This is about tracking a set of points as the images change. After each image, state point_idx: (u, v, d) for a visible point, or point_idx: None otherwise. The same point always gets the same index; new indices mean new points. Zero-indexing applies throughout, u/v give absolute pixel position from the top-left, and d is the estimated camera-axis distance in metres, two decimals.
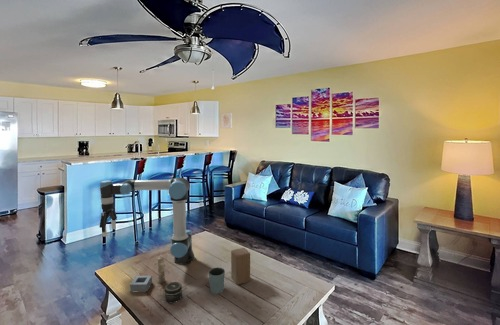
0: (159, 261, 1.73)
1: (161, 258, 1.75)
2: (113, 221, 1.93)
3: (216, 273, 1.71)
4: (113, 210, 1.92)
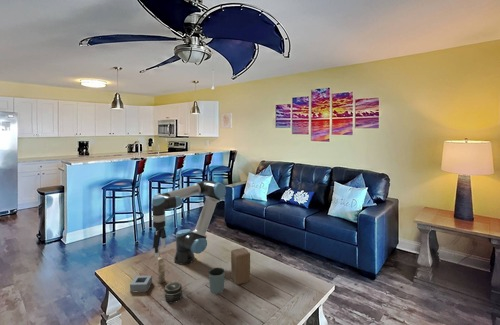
0: (159, 261, 1.73)
1: (161, 258, 1.75)
2: (163, 239, 1.80)
3: (216, 273, 1.71)
4: (163, 228, 1.78)
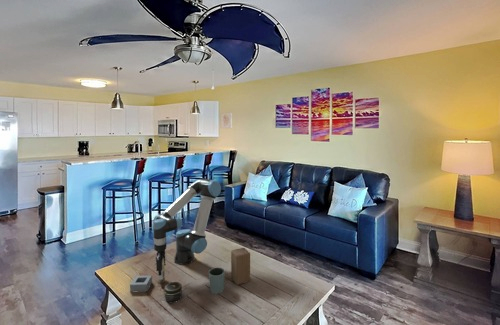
0: None
1: None
2: None
3: (216, 273, 1.71)
4: (164, 252, 1.79)
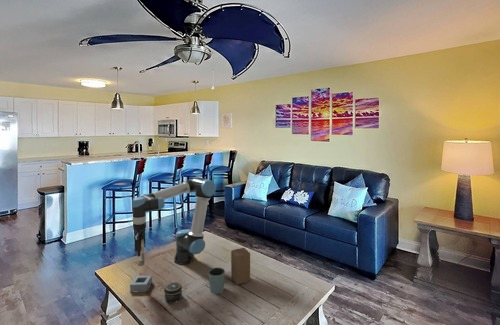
0: None
1: None
2: None
3: (216, 273, 1.71)
4: (144, 232, 1.71)
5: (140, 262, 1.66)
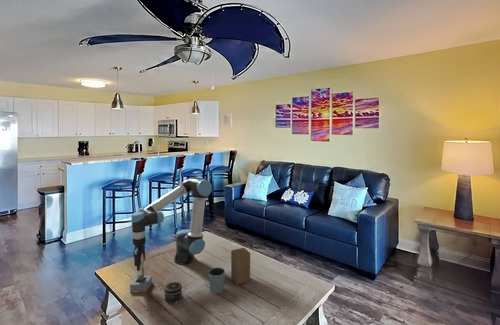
0: None
1: None
2: None
3: (216, 273, 1.71)
4: (144, 246, 1.72)
5: (140, 276, 1.67)
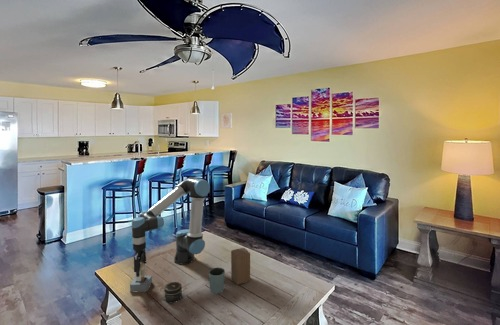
0: None
1: (141, 263, 1.68)
2: None
3: (216, 273, 1.71)
4: (144, 250, 1.73)
5: None
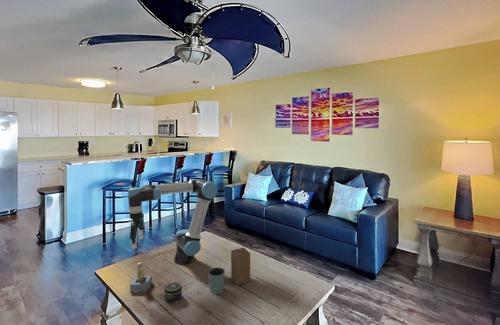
0: (138, 266, 1.66)
1: (141, 263, 1.68)
2: (140, 231, 1.79)
3: (216, 273, 1.71)
4: (141, 219, 1.78)
5: None
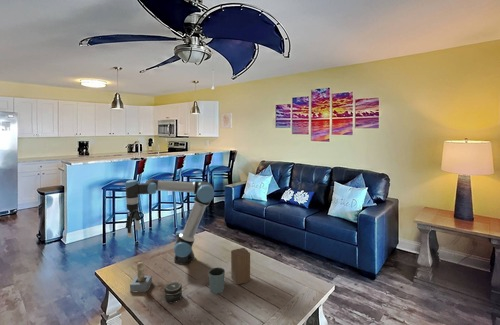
0: (138, 266, 1.66)
1: (141, 263, 1.68)
2: (137, 222, 1.90)
3: (216, 273, 1.71)
4: (137, 210, 1.88)
5: None
